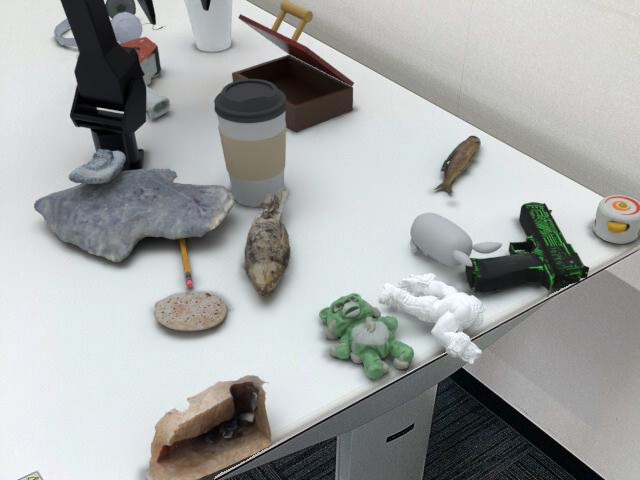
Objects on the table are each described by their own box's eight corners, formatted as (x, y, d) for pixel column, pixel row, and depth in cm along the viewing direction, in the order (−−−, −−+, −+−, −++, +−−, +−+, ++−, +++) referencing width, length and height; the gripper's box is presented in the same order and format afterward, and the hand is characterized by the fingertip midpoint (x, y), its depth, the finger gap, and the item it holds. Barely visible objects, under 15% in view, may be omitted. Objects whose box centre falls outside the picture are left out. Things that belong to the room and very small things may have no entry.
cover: (304, 51, 108) (324, 13, 107) (238, 18, 118) (255, -18, 116) (352, 86, 118) (371, 52, 117) (287, 53, 127) (304, 21, 126)
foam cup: (246, 50, 138) (239, -26, 129) (197, 58, 135) (187, -19, 126) (229, 32, 144) (221, -42, 135) (182, 39, 141) (171, -35, 133)
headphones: (160, 9, 150) (60, 36, 147) (150, -21, 145) (47, 7, 143) (172, 42, 137) (63, 72, 135) (161, 10, 133) (49, 41, 131)
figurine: (367, 341, 82) (475, 374, 79) (370, 306, 78) (483, 340, 75) (399, 283, 88) (499, 312, 85) (403, 248, 84) (507, 278, 82)
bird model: (227, 278, 82) (244, 313, 85) (279, 264, 81) (294, 300, 84) (239, 184, 98) (252, 216, 101) (282, 171, 97) (295, 204, 100)
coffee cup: (218, 182, 105) (204, 77, 95) (280, 171, 107) (274, 67, 97) (234, 217, 99) (221, 108, 88) (300, 204, 101) (295, 96, 91)
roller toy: (659, 207, 93) (626, 185, 97) (619, 220, 91) (587, 198, 95) (649, 237, 96) (618, 215, 100) (610, 251, 94) (580, 227, 98)
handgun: (477, 306, 86) (600, 292, 88) (480, 285, 84) (606, 272, 86) (437, 228, 97) (547, 218, 100) (440, 208, 95) (552, 198, 98)
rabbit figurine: (394, 243, 93) (458, 288, 85) (407, 204, 91) (474, 247, 83) (431, 243, 97) (495, 286, 89) (443, 206, 95) (511, 246, 87)
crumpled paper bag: (143, 478, 69) (133, 403, 65) (254, 433, 76) (249, 364, 72) (174, 506, 65) (165, 428, 61) (287, 457, 72) (284, 384, 69)
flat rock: (248, 189, 102) (70, 174, 104) (244, 157, 98) (58, 142, 100) (216, 283, 91) (17, 264, 93) (209, 251, 87) (2, 232, 89)
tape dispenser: (166, 131, 119) (196, 70, 132) (162, 100, 115) (193, 40, 128) (56, 119, 119) (97, 60, 133) (48, 88, 115) (91, 30, 129)
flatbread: (234, 300, 87) (233, 292, 87) (218, 338, 81) (217, 330, 81) (164, 292, 88) (163, 285, 87) (143, 330, 82) (142, 322, 81)
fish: (460, 141, 114) (459, 127, 112) (484, 143, 113) (484, 129, 111) (428, 203, 103) (427, 187, 101) (454, 205, 101) (454, 190, 100)
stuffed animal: (367, 390, 76) (368, 361, 73) (301, 326, 83) (300, 297, 80) (428, 359, 80) (431, 329, 77) (359, 300, 87) (360, 271, 84)
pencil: (193, 287, 88) (192, 282, 87) (187, 288, 88) (186, 283, 87) (178, 201, 101) (177, 195, 100) (172, 201, 101) (171, 196, 100)
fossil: (86, 171, 89) (55, 162, 91) (92, 198, 91) (62, 189, 93) (134, 145, 94) (103, 138, 96) (139, 171, 96) (109, 163, 98)
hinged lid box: (295, 132, 116) (294, 108, 113) (234, 95, 125) (231, 72, 122) (353, 110, 121) (353, 87, 119) (289, 76, 130) (289, 54, 128)
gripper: (131, -75, 95) (153, 49, 106) (253, -99, 104) (261, 17, 115) (90, -94, 101) (114, 26, 112) (208, -115, 110) (220, -3, 121)
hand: (180, 17), depth 115 cm, fingers open, 9 cm apart
